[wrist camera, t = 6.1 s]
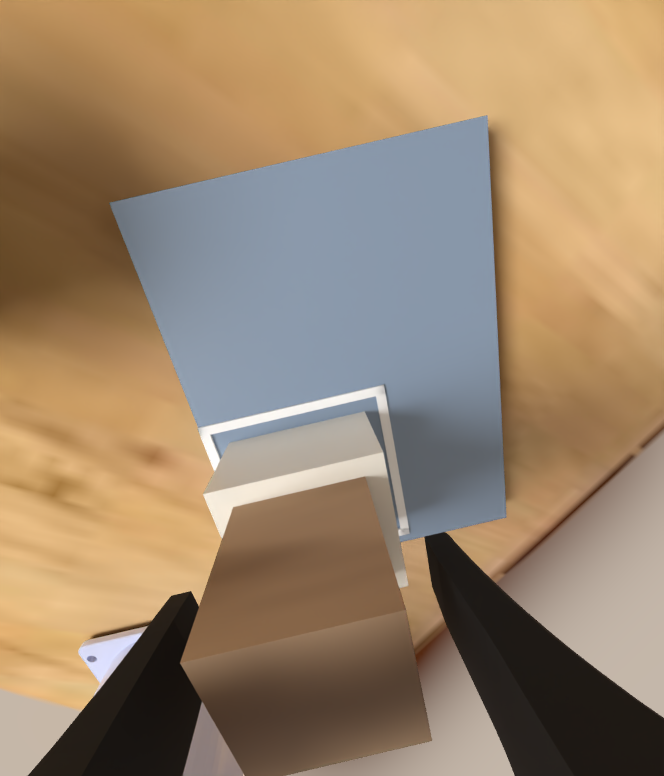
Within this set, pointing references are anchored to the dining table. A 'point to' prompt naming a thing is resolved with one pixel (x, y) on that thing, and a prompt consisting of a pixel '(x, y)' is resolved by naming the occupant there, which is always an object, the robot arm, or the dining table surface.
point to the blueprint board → (342, 309)
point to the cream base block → (306, 472)
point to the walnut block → (306, 636)
